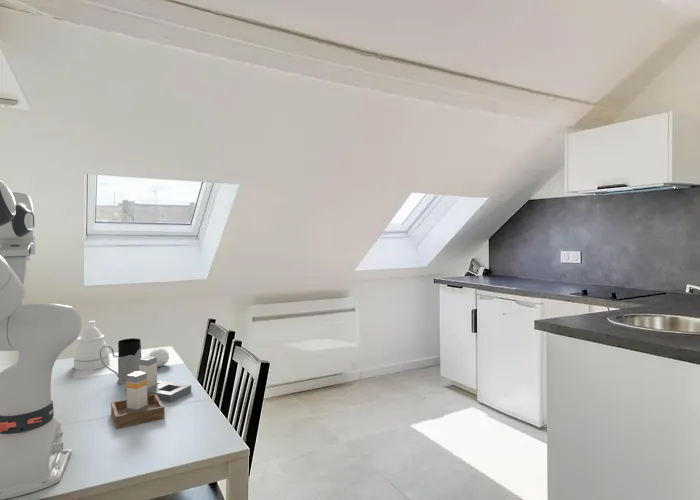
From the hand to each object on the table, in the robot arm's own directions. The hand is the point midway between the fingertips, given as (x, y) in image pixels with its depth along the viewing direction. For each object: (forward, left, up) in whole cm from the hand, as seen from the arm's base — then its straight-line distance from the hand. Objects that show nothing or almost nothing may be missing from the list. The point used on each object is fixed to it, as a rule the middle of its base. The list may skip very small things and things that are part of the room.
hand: (18, 295), depth 133 cm
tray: (-16, -29, -37) cm, 50 cm away
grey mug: (+21, -29, -37) cm, 52 cm away
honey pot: (+50, -21, -37) cm, 66 cm away
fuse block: (0, -38, -37) cm, 53 cm away
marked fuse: (-16, -29, -36) cm, 49 cm away
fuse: (+4, -35, -37) cm, 51 cm away
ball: (+33, -44, -37) cm, 67 cm away
